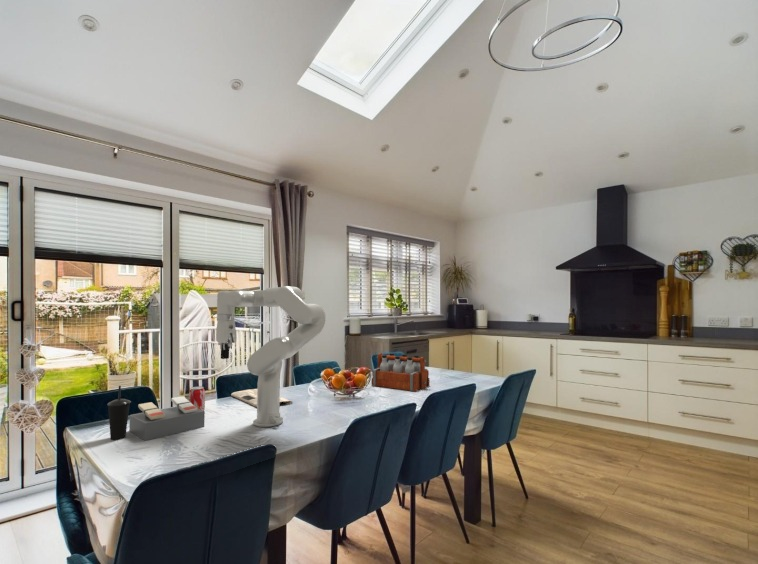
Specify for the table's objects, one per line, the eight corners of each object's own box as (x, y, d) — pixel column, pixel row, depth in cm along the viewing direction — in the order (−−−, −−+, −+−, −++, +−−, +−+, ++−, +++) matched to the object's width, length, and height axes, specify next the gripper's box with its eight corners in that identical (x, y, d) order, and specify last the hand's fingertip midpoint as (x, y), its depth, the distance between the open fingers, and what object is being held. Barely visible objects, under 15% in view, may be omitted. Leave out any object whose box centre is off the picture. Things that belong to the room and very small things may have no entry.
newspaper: (231, 397, 225) (231, 392, 225) (263, 392, 237) (263, 387, 238) (260, 411, 197) (260, 405, 197) (295, 404, 210) (295, 398, 210)
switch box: (204, 426, 171) (204, 408, 171) (144, 440, 153) (145, 420, 154) (181, 416, 185) (181, 399, 186) (124, 428, 168) (125, 409, 168)
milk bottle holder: (418, 392, 236) (418, 359, 237) (368, 385, 254) (368, 355, 255) (433, 386, 254) (432, 355, 255) (385, 380, 272) (385, 351, 273)
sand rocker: (164, 417, 160) (164, 413, 160) (150, 420, 157) (151, 416, 157) (151, 405, 170) (151, 401, 170) (138, 407, 166) (138, 403, 166)
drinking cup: (112, 442, 151) (114, 388, 152) (102, 439, 155) (104, 386, 156) (133, 437, 158) (135, 385, 158) (123, 433, 162) (125, 383, 163)
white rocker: (196, 411, 170) (197, 407, 170) (184, 413, 167) (185, 410, 166) (182, 399, 179) (183, 395, 179) (171, 401, 176) (171, 397, 175)
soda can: (198, 415, 187) (199, 389, 187) (184, 414, 188) (185, 388, 188) (207, 411, 193) (208, 386, 194) (194, 410, 195) (195, 385, 195)
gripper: (241, 318, 182) (241, 359, 181) (225, 317, 192) (224, 356, 191) (226, 318, 176) (225, 361, 175) (209, 317, 186) (208, 357, 185)
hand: (224, 358), depth 183 cm, fingers closed
